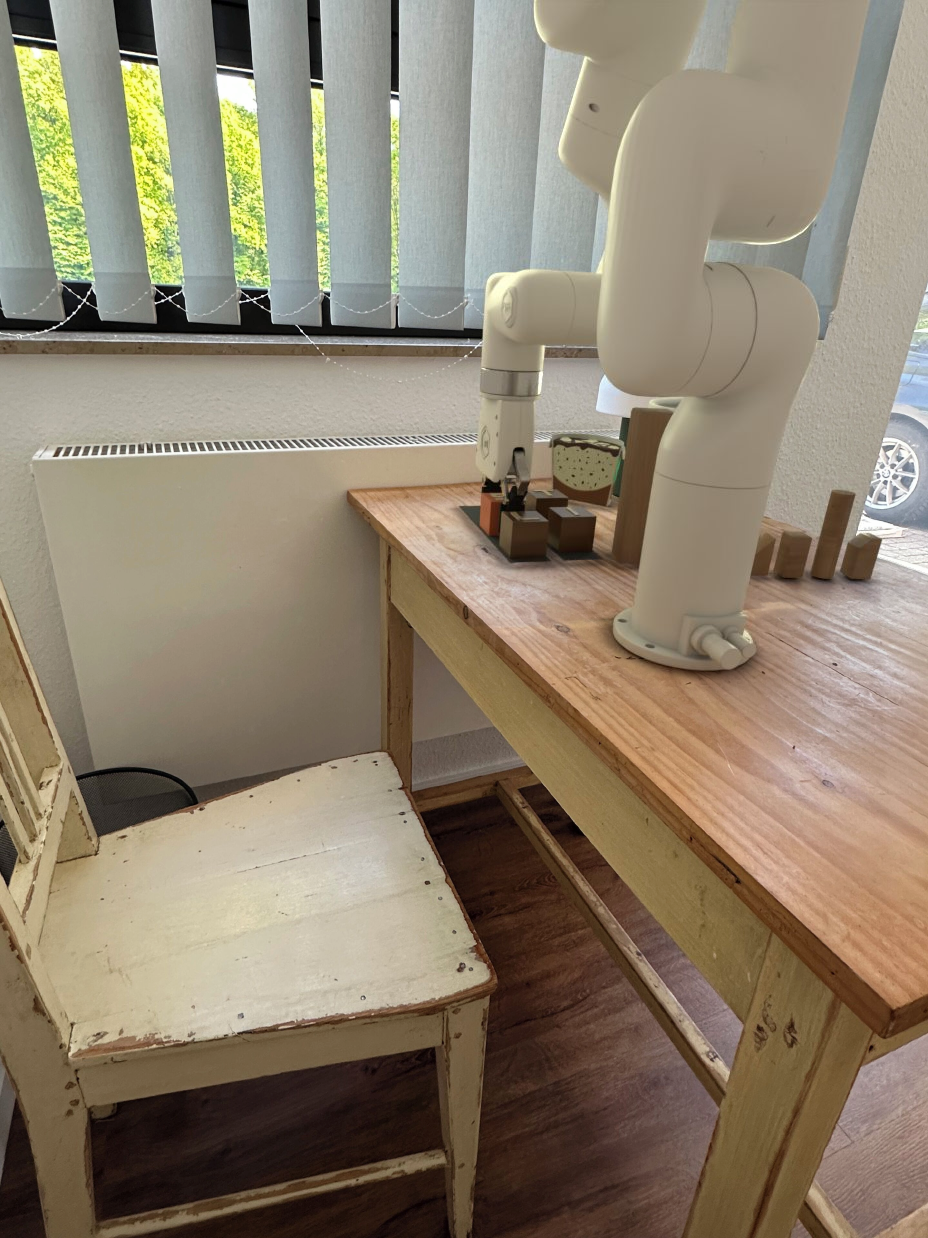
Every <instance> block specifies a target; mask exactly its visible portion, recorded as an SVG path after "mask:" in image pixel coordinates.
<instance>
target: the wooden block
mask: <svg viewBox="0 0 928 1238" xmlns="http://www.w3.org/2000/svg"><path fill="white" fill-rule="evenodd" d="M673 413H674V412H672V411H670V410H668V409H657V408H648V407H638V406H637V407H636V406H635V407H632V408H631V410H630V417H629V422H628V423H629V424H628V432H627V439H626V446H625V459H623V466H622V467H623V468H622V474H621V481H620V489H619V496H618V503H617V511H616V519H615V525H614V533H613V540H612V548H611V554H612V556H613V558H614V559H615V561H616V562H617V563H618V564H624V565H625V564H626V565H640V559H641V553H642V546H643V540H644V533H645V527H646V521H647V514H648V508H649V501H650V495H651V488H652V484H653V476H654V470H655V465H656V459H657V453H658V449H659V445H660V441H661V438H662V436H663V433H664V431H665V428H666V426H667V424H668V422H669V420H670V418H671V417H672V415H673Z"/></svg>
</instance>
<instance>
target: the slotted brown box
mask: <svg viewBox="0 0 928 1238" xmlns="http://www.w3.org/2000/svg"><path fill="white" fill-rule="evenodd" d="M597 519H598V518H597V515H595V514H594V513H592V512H591V511H589V510H588V509H586V508H585V507H583V506H568V507H549V513H548V521H549V527H548V537H547V543H548V544H549V545H550V546H551V547H552V548H554V549H555V550H556V551H557V552H558V553H567V552H592V550H594V549H593V548H594V541H595V533H596V524H597Z"/></svg>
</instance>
